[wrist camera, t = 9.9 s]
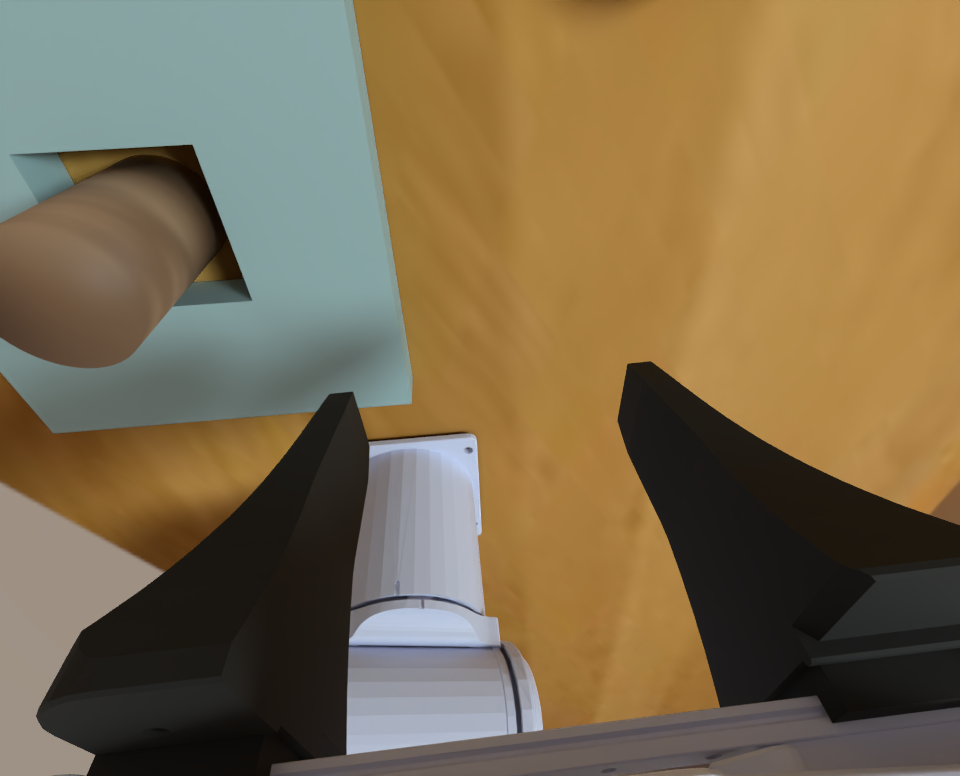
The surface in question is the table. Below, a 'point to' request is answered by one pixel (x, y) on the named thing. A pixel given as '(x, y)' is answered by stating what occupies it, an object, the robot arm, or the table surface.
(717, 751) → the robot arm
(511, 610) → the table surface
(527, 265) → the table surface
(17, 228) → the walnut pin
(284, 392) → the hole board
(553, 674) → the table surface
